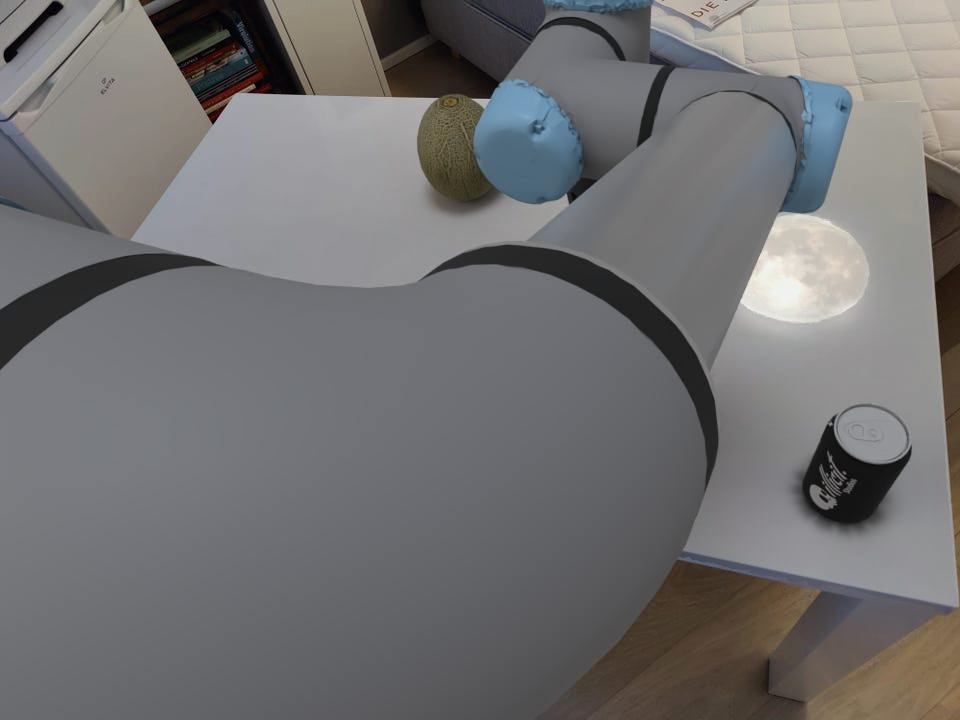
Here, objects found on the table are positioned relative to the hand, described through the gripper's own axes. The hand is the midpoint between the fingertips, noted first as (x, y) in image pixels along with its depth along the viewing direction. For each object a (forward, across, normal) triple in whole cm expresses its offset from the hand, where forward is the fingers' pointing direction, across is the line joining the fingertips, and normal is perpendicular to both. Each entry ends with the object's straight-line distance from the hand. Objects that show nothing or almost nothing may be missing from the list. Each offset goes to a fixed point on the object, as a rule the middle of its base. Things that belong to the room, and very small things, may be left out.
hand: (609, 312), depth 79 cm
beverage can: (+4, -28, -7) cm, 29 cm away
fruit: (+4, +33, +3) cm, 33 cm away
